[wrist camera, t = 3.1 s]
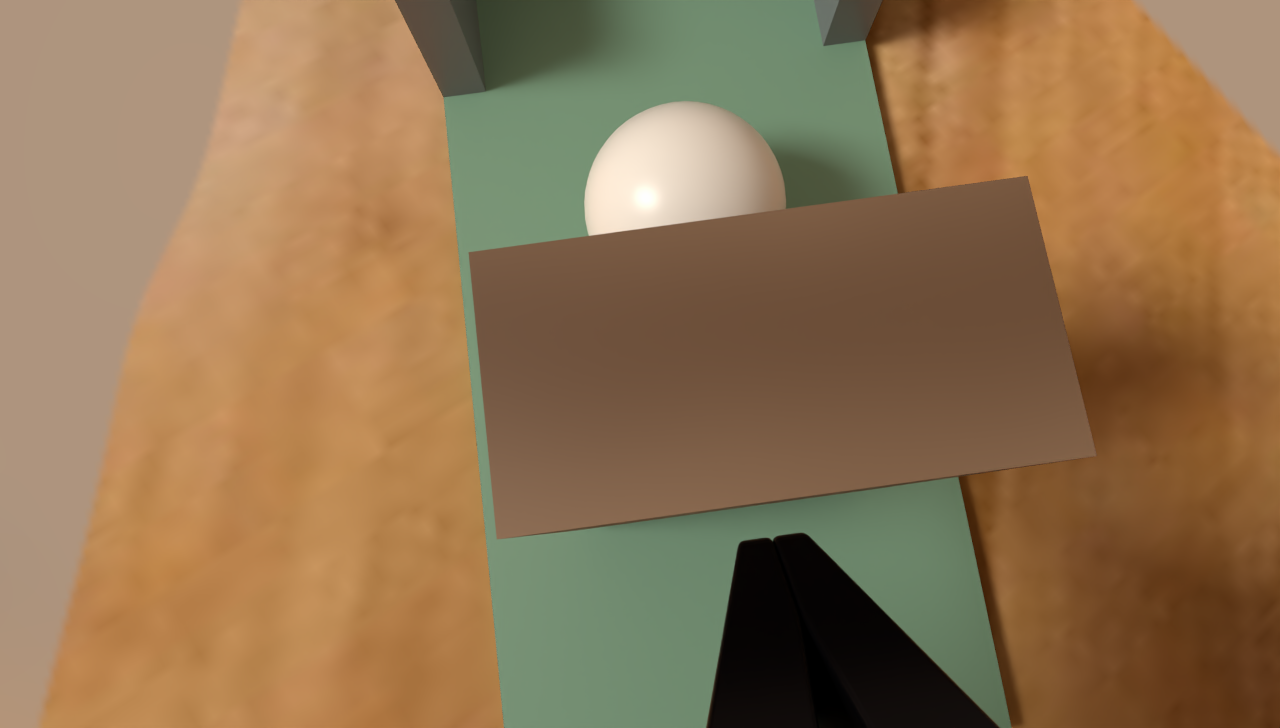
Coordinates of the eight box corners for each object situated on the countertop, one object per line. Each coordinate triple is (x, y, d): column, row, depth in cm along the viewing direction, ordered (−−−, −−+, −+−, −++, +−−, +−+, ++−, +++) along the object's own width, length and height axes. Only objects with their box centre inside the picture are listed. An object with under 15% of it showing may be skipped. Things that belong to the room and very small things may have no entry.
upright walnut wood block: (870, 489, 16) (1097, 456, 8) (578, 530, 16) (497, 540, 8) (843, 347, 17) (1026, 175, 8) (561, 386, 17) (468, 251, 8)
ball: (784, 314, 17) (821, 254, 14) (603, 339, 17) (589, 285, 14) (755, 146, 18) (782, 44, 14) (581, 170, 18) (562, 74, 14)
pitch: (1005, 726, 16) (1012, 730, 16) (514, 795, 16) (511, 800, 16) (826, -121, 20) (829, -130, 20) (430, -67, 20) (427, -76, 20)
